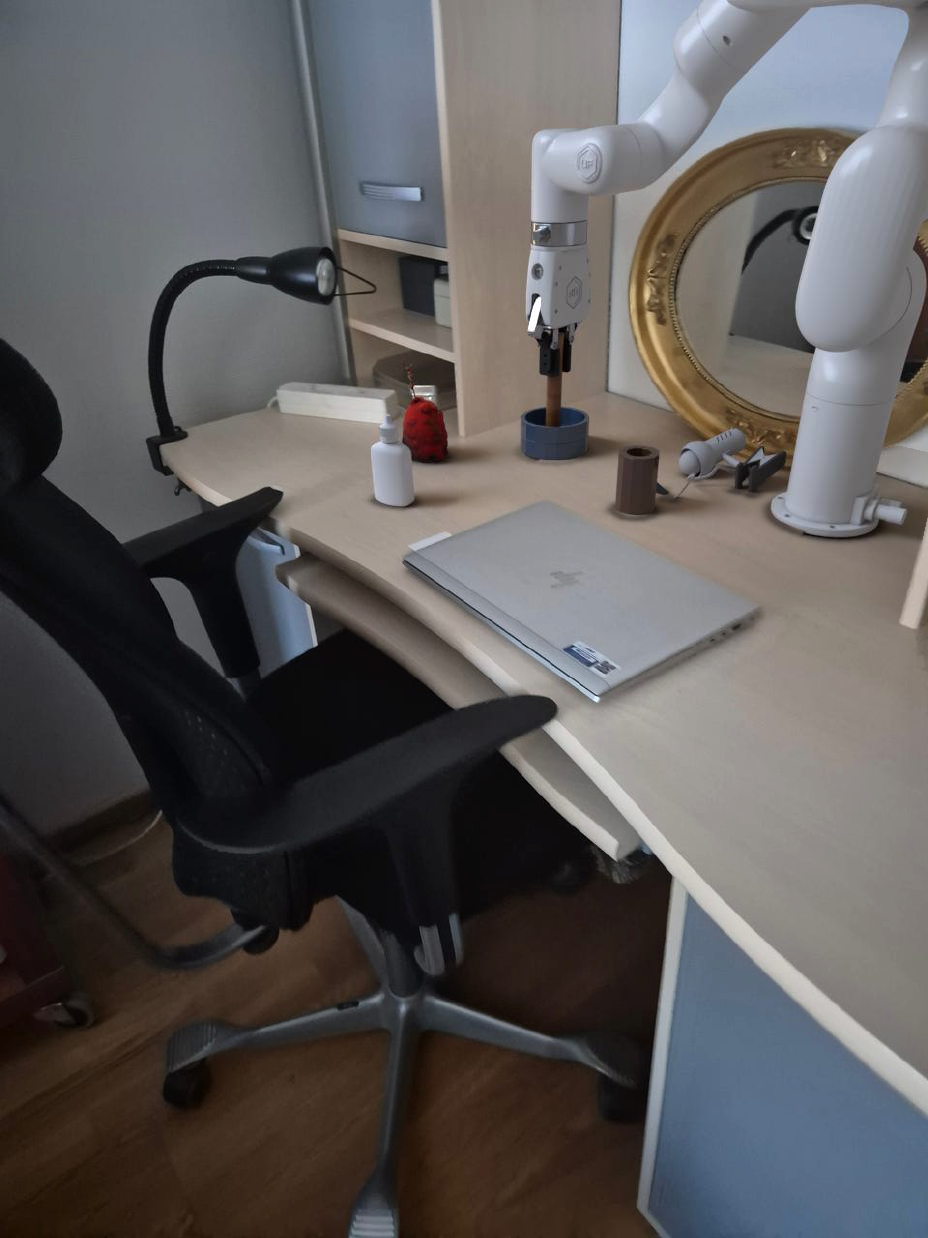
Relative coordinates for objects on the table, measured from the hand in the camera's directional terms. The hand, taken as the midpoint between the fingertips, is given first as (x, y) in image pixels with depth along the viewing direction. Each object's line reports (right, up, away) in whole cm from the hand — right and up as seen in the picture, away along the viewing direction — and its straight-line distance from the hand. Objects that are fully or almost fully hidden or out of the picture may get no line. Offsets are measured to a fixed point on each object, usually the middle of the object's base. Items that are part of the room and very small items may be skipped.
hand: (555, 372), depth 118 cm
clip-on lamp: (+20, -18, -7) cm, 28 cm away
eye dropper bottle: (-23, -20, -8) cm, 31 cm away
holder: (+9, -22, -13) cm, 27 cm away
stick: (0, -10, +6) cm, 12 cm away
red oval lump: (-19, -11, +7) cm, 23 cm away
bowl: (+1, -10, +6) cm, 12 cm away
